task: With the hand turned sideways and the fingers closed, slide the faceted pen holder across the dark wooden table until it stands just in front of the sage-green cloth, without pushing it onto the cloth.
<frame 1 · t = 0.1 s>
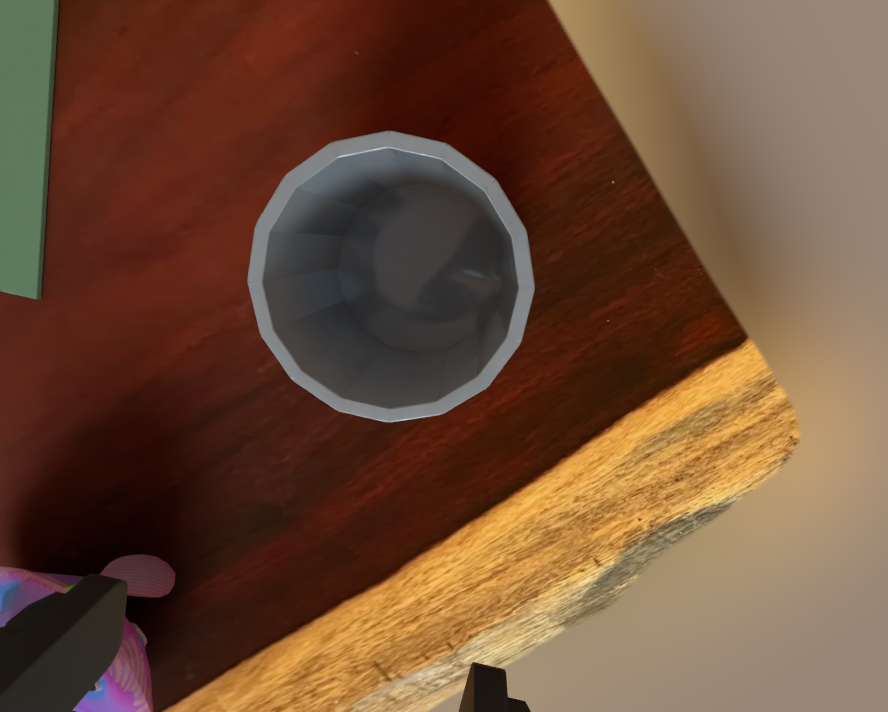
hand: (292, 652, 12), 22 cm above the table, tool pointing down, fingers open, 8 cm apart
decorative fish: (121, 607, 38), on the table
faceted pen holder: (420, 270, 32), on the table
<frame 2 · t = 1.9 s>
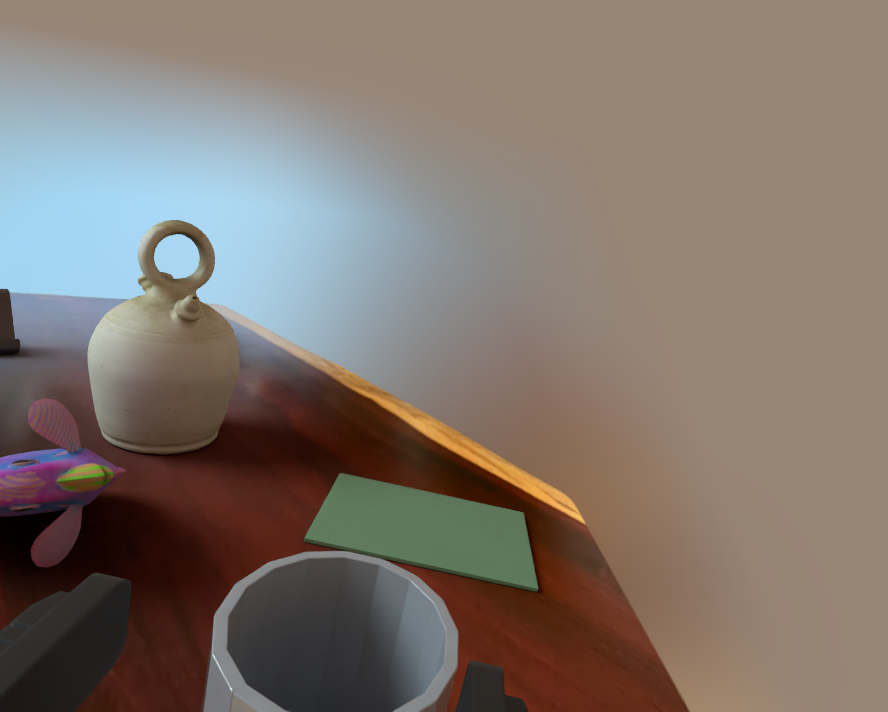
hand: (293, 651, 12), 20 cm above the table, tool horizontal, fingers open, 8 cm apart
decorative fish: (17, 536, 43), on the table
cloth: (426, 527, 56), on the table
jug: (160, 434, 64), on the table
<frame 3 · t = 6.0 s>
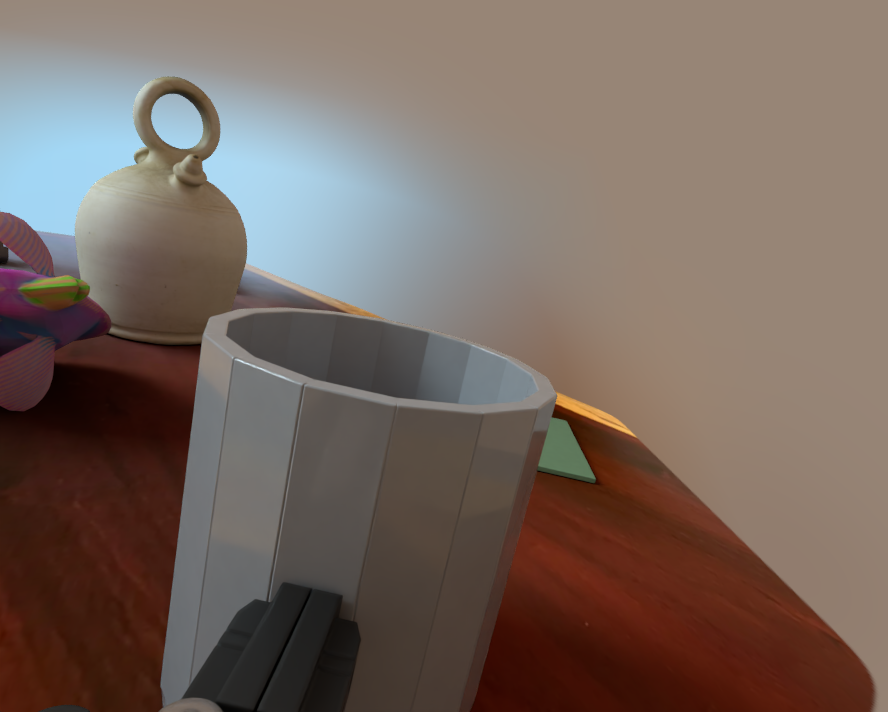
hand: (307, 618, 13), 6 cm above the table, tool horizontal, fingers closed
cloth: (459, 423, 49), on the table
faceted pen holder: (326, 661, 20), on the table, touching gripper
jug: (157, 331, 57), on the table
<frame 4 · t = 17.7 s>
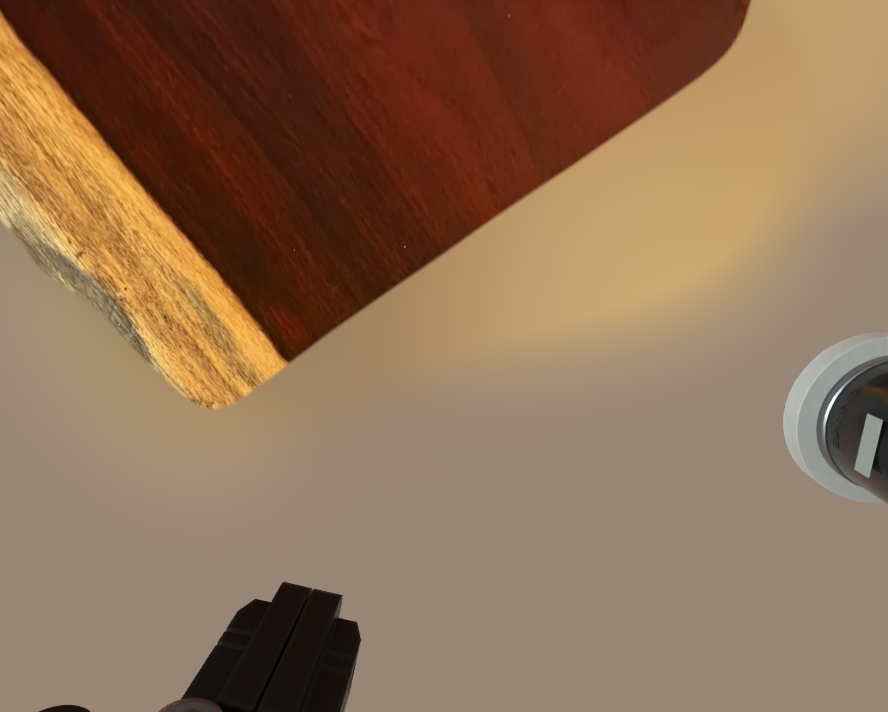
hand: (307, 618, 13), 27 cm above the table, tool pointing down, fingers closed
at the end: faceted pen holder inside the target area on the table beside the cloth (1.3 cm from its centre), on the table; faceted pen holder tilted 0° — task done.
